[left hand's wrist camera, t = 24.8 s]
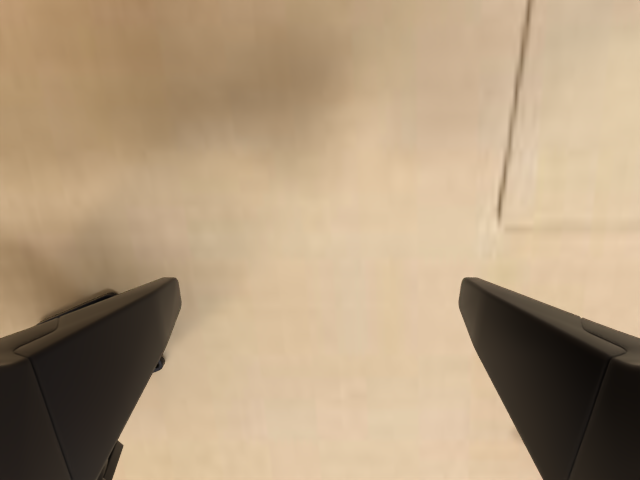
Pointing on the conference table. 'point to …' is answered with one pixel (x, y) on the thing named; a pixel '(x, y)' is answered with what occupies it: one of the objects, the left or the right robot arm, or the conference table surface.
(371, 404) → the conference table surface
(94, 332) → the left robot arm
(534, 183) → the conference table surface
